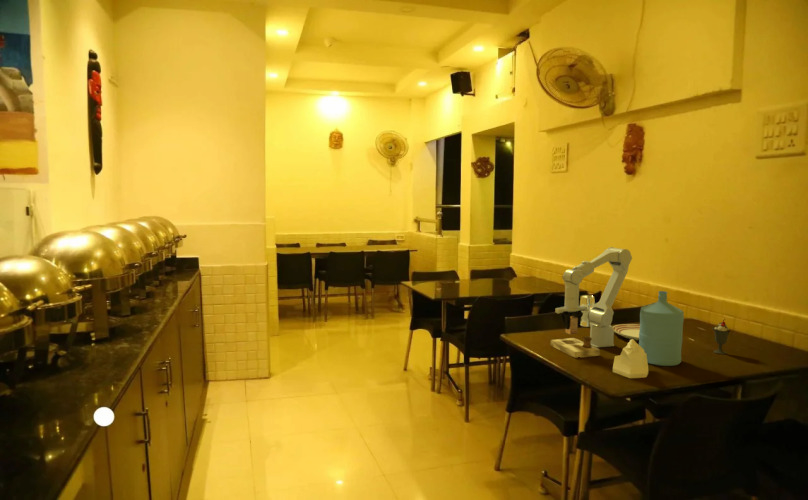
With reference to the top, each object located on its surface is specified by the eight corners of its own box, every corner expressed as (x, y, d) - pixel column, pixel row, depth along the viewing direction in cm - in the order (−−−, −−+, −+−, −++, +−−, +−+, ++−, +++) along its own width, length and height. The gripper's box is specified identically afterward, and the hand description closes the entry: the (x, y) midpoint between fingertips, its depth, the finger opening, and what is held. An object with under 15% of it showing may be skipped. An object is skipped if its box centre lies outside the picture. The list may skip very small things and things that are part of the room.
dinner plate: (633, 326, 261) (633, 320, 260) (688, 339, 238) (688, 332, 238) (599, 335, 246) (599, 328, 245) (654, 349, 223) (654, 342, 222)
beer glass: (594, 327, 258) (595, 298, 256) (580, 327, 259) (581, 297, 258) (592, 324, 265) (593, 295, 263) (578, 323, 266) (579, 294, 264)
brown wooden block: (572, 331, 225) (573, 315, 224) (577, 333, 222) (577, 317, 221) (565, 332, 224) (566, 316, 223) (570, 334, 221) (570, 318, 220)
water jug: (679, 369, 197) (683, 297, 194) (635, 362, 206) (638, 293, 203) (682, 358, 211) (686, 290, 207) (640, 352, 219) (644, 286, 216)
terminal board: (574, 343, 232) (574, 329, 231) (599, 355, 214) (600, 340, 214) (550, 345, 228) (550, 331, 228) (574, 358, 211) (575, 342, 210)
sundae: (723, 356, 213) (725, 320, 212) (707, 351, 219) (709, 317, 218) (732, 353, 216) (735, 318, 215) (717, 349, 222) (719, 315, 221)
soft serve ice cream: (660, 381, 189) (664, 348, 184) (619, 385, 189) (621, 351, 184) (645, 362, 201) (648, 330, 196) (606, 365, 201) (608, 333, 196)
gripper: (562, 300, 216) (561, 332, 217) (592, 298, 220) (590, 329, 221) (552, 297, 223) (552, 327, 224) (582, 295, 227) (580, 325, 228)
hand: (570, 328), depth 223 cm, fingers closed on brown wooden block, 3 cm apart
